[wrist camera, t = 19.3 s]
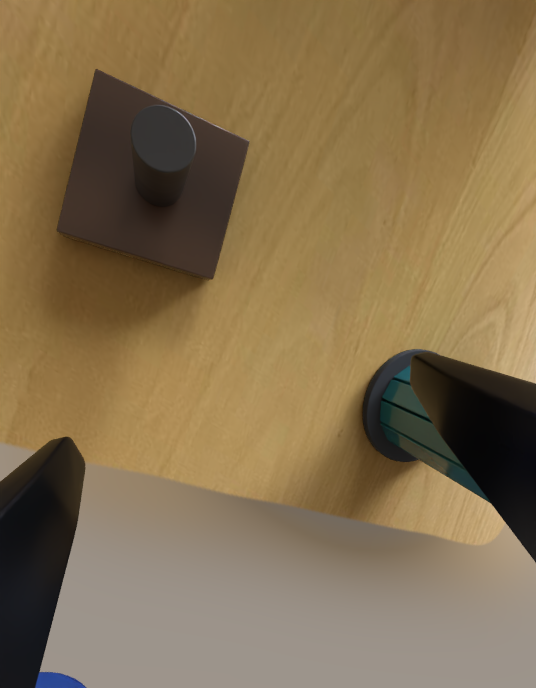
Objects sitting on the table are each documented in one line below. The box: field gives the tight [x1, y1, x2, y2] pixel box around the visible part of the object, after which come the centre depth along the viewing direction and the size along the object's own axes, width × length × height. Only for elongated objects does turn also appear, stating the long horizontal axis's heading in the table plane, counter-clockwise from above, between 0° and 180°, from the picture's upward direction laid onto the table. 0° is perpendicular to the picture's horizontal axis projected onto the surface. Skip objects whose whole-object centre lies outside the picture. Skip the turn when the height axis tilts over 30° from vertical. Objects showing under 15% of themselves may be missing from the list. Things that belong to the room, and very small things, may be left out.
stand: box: [57, 69, 249, 280], centre depth 16 cm, size 8×8×7 cm
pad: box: [363, 349, 439, 462], centre depth 27 cm, size 9×9×1 cm
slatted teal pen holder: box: [380, 366, 491, 503], centre depth 22 cm, size 7×7×10 cm
